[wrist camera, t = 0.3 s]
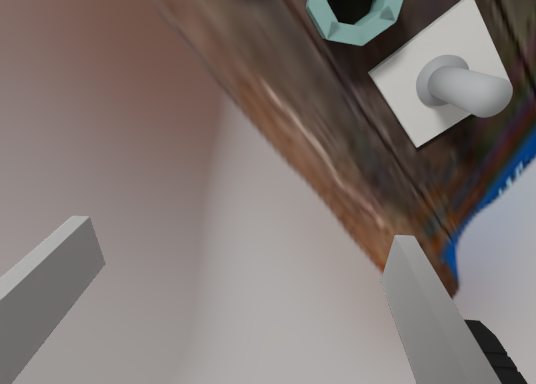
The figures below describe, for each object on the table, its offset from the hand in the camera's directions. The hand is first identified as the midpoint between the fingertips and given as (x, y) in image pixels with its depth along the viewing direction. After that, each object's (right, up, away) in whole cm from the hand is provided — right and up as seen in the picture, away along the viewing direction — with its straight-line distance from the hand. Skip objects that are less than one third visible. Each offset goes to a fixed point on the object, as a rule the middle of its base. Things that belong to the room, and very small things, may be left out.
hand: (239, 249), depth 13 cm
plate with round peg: (+20, +15, +20) cm, 32 cm away
